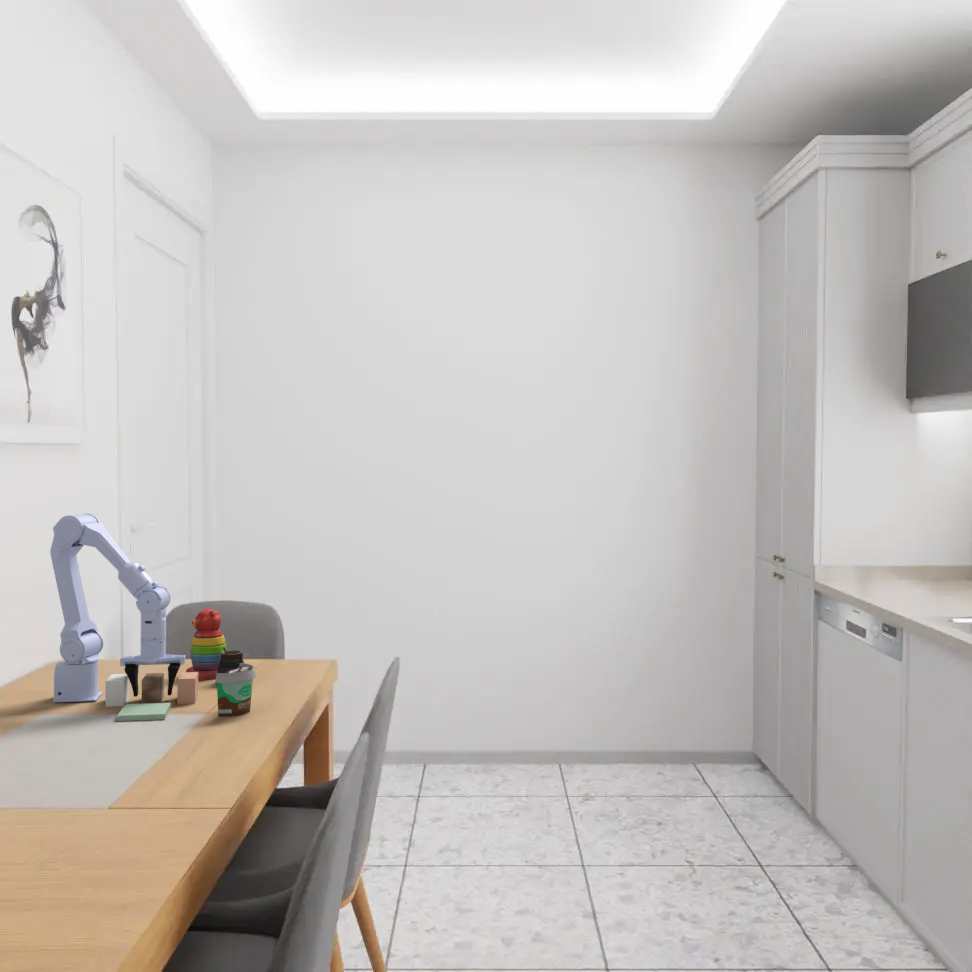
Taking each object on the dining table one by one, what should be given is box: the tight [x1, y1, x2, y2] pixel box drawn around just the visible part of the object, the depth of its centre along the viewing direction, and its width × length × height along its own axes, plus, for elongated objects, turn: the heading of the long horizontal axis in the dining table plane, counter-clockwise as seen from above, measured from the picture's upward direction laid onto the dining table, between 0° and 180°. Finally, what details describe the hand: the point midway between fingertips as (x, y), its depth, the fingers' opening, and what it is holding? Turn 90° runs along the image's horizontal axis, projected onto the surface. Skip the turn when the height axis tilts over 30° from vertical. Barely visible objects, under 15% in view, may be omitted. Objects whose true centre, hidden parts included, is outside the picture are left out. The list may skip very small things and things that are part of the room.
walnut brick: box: [141, 672, 165, 704], centre depth 221 cm, size 4×7×6 cm, turn 12°
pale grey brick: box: [104, 673, 130, 707], centre depth 219 cm, size 4×7×6 cm, turn 12°
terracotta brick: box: [176, 671, 199, 705], centre depth 223 cm, size 4×7×6 cm, turn 12°
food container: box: [215, 662, 257, 718], centre depth 212 cm, size 12×6×10 cm, turn 168°
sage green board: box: [116, 702, 172, 722], centre depth 209 cm, size 10×10×1 cm
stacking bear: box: [185, 607, 228, 682], centre depth 248 cm, size 11×10×18 cm
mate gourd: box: [217, 647, 245, 673], centre depth 241 cm, size 7×8×10 cm
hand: (152, 695), depth 221 cm, fingers open, 7 cm apart
